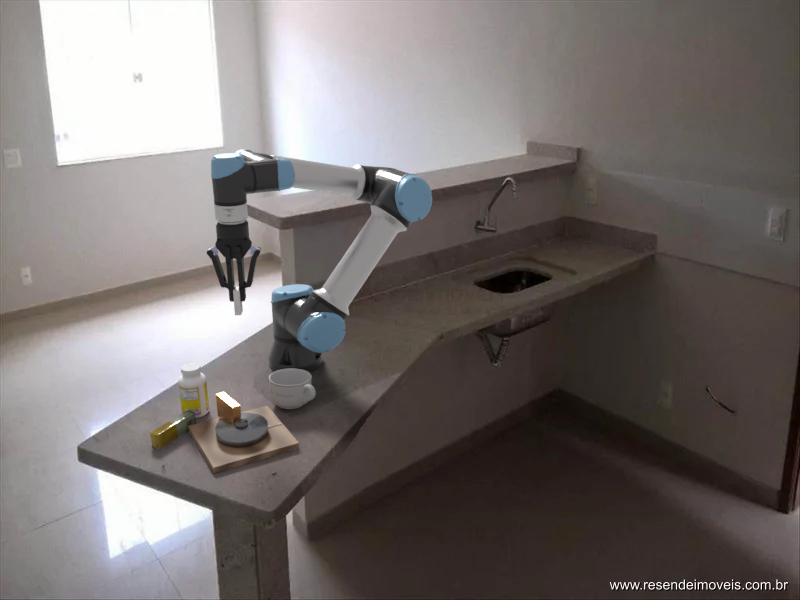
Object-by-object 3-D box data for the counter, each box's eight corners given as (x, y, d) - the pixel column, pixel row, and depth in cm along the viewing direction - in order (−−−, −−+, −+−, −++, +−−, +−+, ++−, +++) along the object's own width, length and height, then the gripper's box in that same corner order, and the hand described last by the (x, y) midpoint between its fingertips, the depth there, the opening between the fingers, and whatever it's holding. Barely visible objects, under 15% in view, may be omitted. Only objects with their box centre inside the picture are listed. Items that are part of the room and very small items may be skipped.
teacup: (262, 401, 189) (260, 374, 187) (298, 389, 196) (296, 362, 193) (291, 423, 180) (289, 394, 177) (327, 409, 186) (327, 381, 183)
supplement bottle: (198, 403, 188) (194, 358, 184) (214, 411, 184) (210, 365, 180) (176, 413, 183) (171, 367, 179) (192, 422, 180) (187, 375, 175)
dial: (198, 423, 176) (196, 400, 173) (243, 407, 183) (241, 385, 181) (231, 453, 164) (229, 429, 162) (277, 435, 171) (276, 411, 169)
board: (267, 410, 185) (267, 405, 185) (299, 448, 169) (298, 442, 169) (188, 431, 176) (187, 425, 175) (214, 473, 160) (213, 467, 159)
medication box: (189, 423, 179) (187, 409, 178) (197, 426, 178) (195, 412, 177) (151, 447, 170) (149, 432, 168) (159, 450, 168) (157, 435, 167)
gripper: (200, 224, 169) (209, 319, 178) (257, 224, 170) (263, 318, 178) (207, 216, 176) (215, 307, 185) (261, 216, 177) (267, 307, 185)
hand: (238, 313), depth 181 cm, fingers closed
